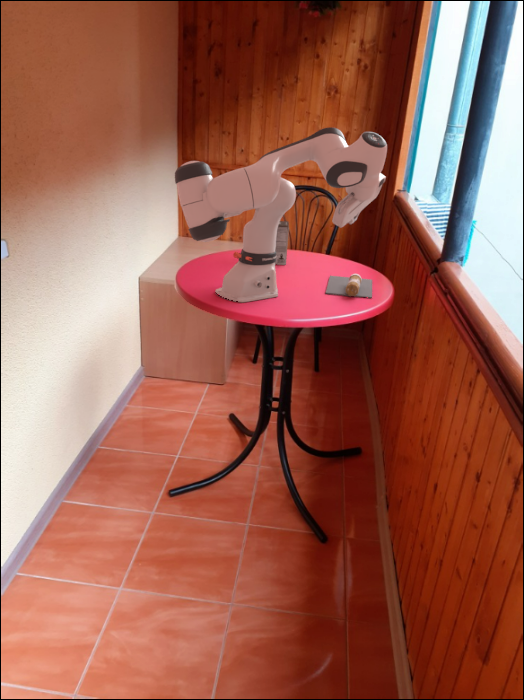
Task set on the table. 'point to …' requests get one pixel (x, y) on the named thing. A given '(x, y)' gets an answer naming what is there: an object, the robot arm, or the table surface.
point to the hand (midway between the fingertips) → (351, 221)
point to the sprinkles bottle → (353, 285)
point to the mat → (340, 283)
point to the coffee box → (282, 242)
